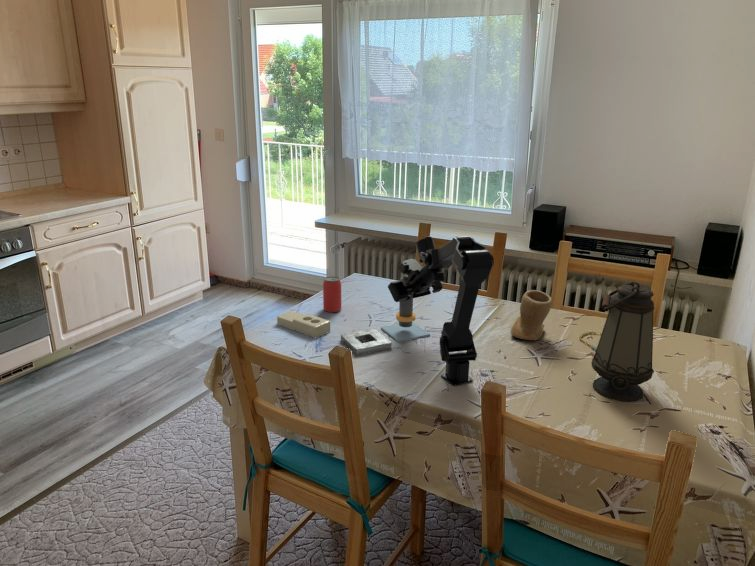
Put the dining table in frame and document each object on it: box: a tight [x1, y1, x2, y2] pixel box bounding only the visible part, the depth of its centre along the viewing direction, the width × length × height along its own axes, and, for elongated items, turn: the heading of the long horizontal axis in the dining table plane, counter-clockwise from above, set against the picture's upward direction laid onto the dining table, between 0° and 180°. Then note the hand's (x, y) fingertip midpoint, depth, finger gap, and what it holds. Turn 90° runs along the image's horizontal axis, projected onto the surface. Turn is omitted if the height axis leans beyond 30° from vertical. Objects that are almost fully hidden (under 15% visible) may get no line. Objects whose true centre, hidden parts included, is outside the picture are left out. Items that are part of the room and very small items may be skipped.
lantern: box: [591, 280, 655, 403], centre depth 143 cm, size 18×15×30 cm
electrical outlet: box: [276, 310, 331, 338], centre depth 184 cm, size 7×4×18 cm
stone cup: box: [510, 289, 553, 341], centre depth 180 cm, size 15×12×15 cm
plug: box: [395, 274, 417, 327], centre depth 178 cm, size 6×6×17 cm
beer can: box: [322, 275, 342, 313], centre depth 198 cm, size 7×7×12 cm
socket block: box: [340, 328, 393, 356], centre depth 172 cm, size 12×12×2 cm
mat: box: [380, 321, 431, 343], centre depth 182 cm, size 12×12×1 cm
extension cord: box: [579, 331, 602, 352], centre depth 176 cm, size 12×16×2 cm
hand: (403, 299), depth 179 cm, fingers closed on plug, 4 cm apart
